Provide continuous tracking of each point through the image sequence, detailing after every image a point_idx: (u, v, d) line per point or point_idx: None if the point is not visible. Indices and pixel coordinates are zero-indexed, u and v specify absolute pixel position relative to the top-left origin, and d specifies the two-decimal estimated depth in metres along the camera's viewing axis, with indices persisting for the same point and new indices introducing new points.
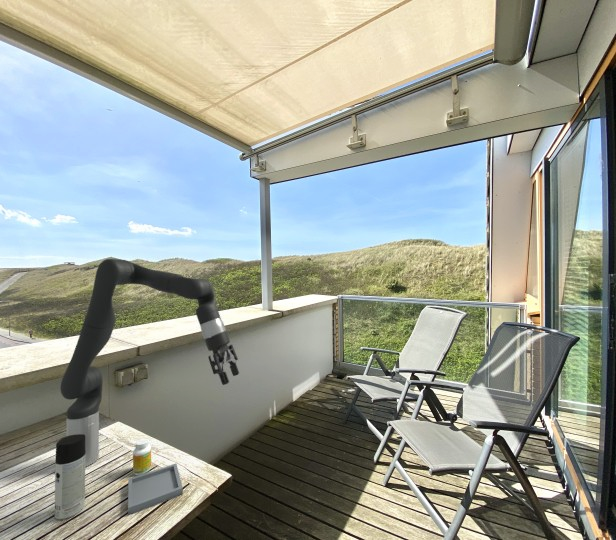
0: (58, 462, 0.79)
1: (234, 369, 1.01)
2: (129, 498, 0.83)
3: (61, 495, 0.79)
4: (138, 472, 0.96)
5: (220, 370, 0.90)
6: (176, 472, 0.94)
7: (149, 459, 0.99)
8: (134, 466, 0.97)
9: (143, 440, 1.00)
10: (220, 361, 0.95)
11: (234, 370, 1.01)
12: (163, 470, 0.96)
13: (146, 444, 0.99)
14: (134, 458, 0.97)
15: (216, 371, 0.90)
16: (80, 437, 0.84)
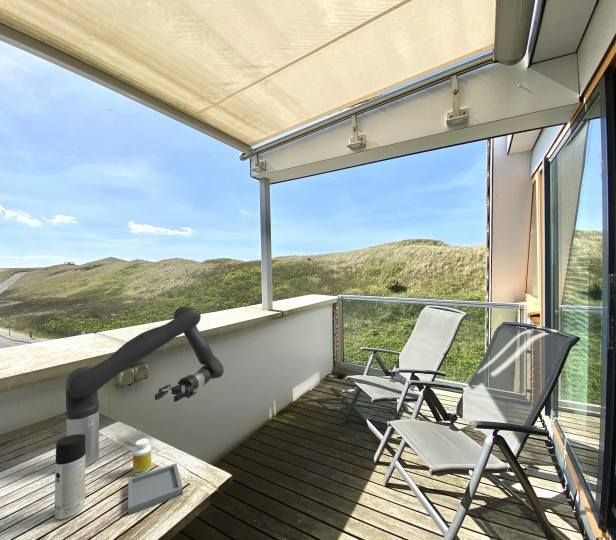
0: (58, 462, 0.79)
1: (160, 396, 1.13)
2: (129, 498, 0.83)
3: (61, 495, 0.79)
4: (138, 472, 0.96)
5: (188, 397, 1.14)
6: (176, 472, 0.94)
7: (149, 459, 0.99)
8: (134, 466, 0.97)
9: (143, 440, 1.00)
10: None
11: (159, 395, 1.13)
12: (163, 470, 0.96)
13: (146, 444, 0.99)
14: (134, 458, 0.97)
15: (189, 394, 1.14)
16: (80, 437, 0.84)
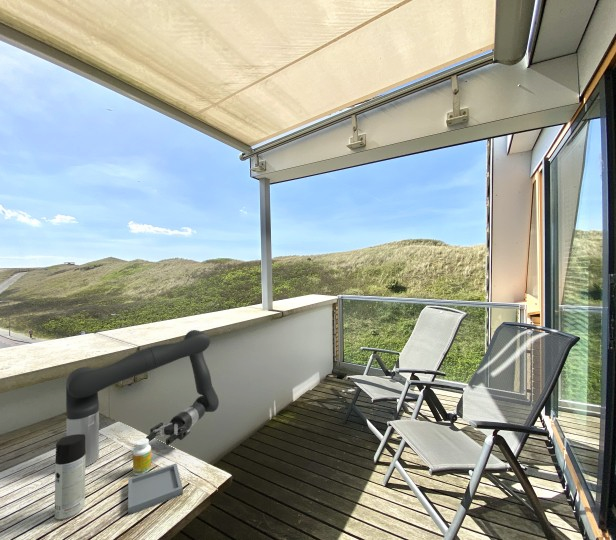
0: (58, 462, 0.79)
1: (151, 437, 1.09)
2: (129, 498, 0.83)
3: (61, 495, 0.79)
4: (138, 472, 0.96)
5: (181, 439, 1.09)
6: (176, 472, 0.94)
7: (149, 459, 0.99)
8: (134, 466, 0.97)
9: (143, 440, 1.00)
10: None
11: (151, 437, 1.09)
12: (163, 470, 0.96)
13: (146, 444, 0.99)
14: (134, 458, 0.97)
15: (182, 435, 1.09)
16: (80, 437, 0.84)
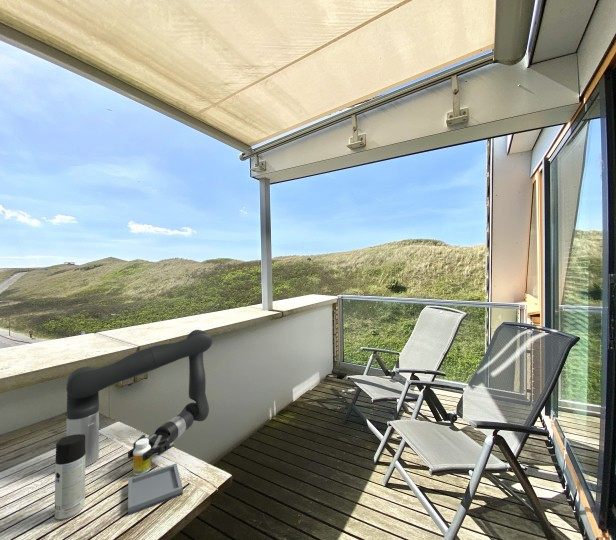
0: (58, 462, 0.79)
1: None
2: (129, 498, 0.83)
3: (61, 495, 0.79)
4: (138, 472, 0.96)
5: (160, 453, 1.00)
6: (176, 472, 0.94)
7: (149, 459, 0.99)
8: (134, 466, 0.97)
9: (143, 440, 1.00)
10: None
11: None
12: (163, 470, 0.96)
13: (146, 444, 0.99)
14: (133, 457, 0.97)
15: (161, 449, 1.00)
16: (81, 437, 0.84)
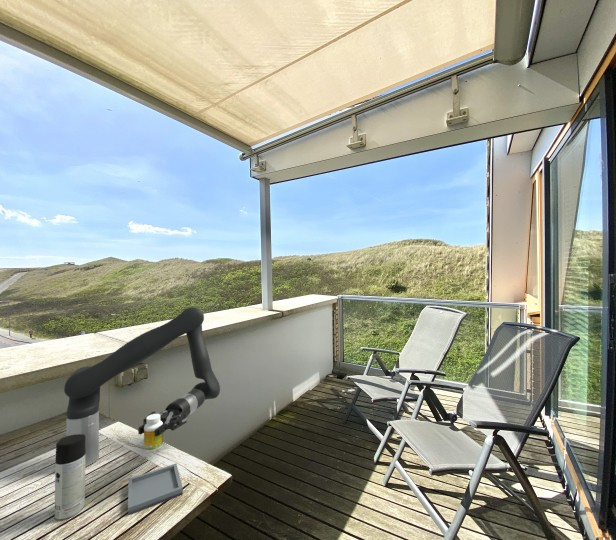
0: (58, 462, 0.79)
1: None
2: (129, 498, 0.83)
3: (61, 495, 0.79)
4: (150, 449, 0.90)
5: (173, 429, 0.93)
6: (176, 472, 0.94)
7: (161, 435, 0.92)
8: (145, 442, 0.90)
9: (154, 415, 0.93)
10: None
11: None
12: (163, 470, 0.96)
13: (158, 419, 0.92)
14: (145, 433, 0.90)
15: (174, 425, 0.94)
16: (81, 437, 0.84)
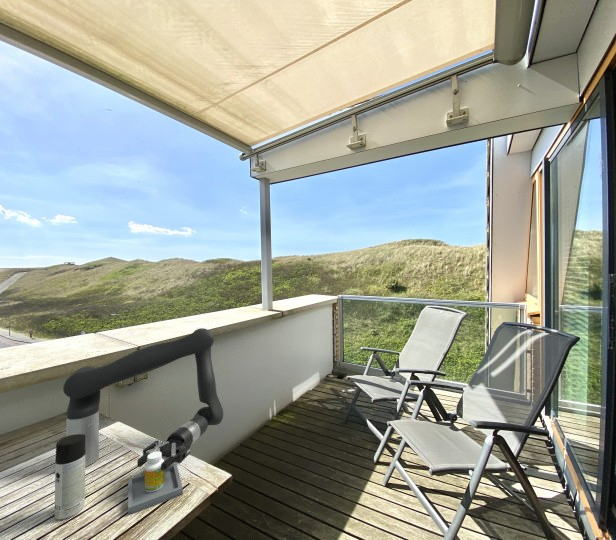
0: (58, 462, 0.79)
1: (144, 460, 0.91)
2: (129, 498, 0.83)
3: (61, 495, 0.79)
4: (150, 489, 0.87)
5: None
6: (176, 472, 0.94)
7: (162, 474, 0.90)
8: (146, 483, 0.88)
9: (155, 453, 0.91)
10: None
11: (144, 460, 0.91)
12: None
13: (159, 458, 0.89)
14: (145, 473, 0.88)
15: (181, 458, 0.91)
16: (80, 437, 0.84)
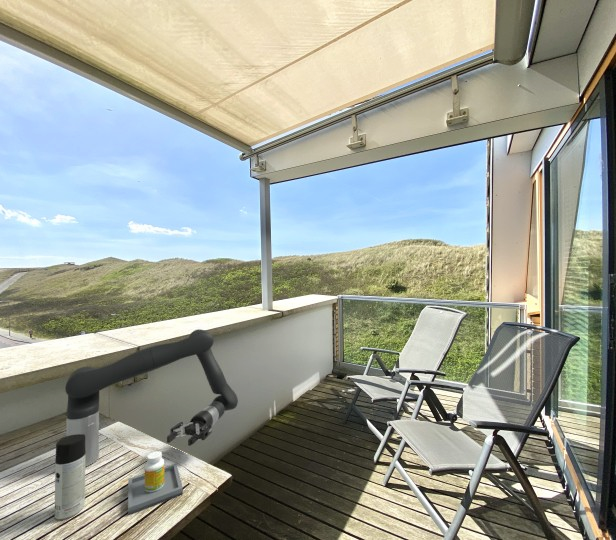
0: (58, 462, 0.79)
1: (172, 437, 1.04)
2: (129, 498, 0.83)
3: (61, 495, 0.79)
4: (150, 489, 0.87)
5: (203, 439, 1.04)
6: (176, 472, 0.94)
7: (162, 474, 0.90)
8: (146, 483, 0.88)
9: (155, 453, 0.91)
10: None
11: (172, 437, 1.03)
12: None
13: (159, 458, 0.89)
14: (145, 473, 0.88)
15: (204, 435, 1.04)
16: (80, 437, 0.84)
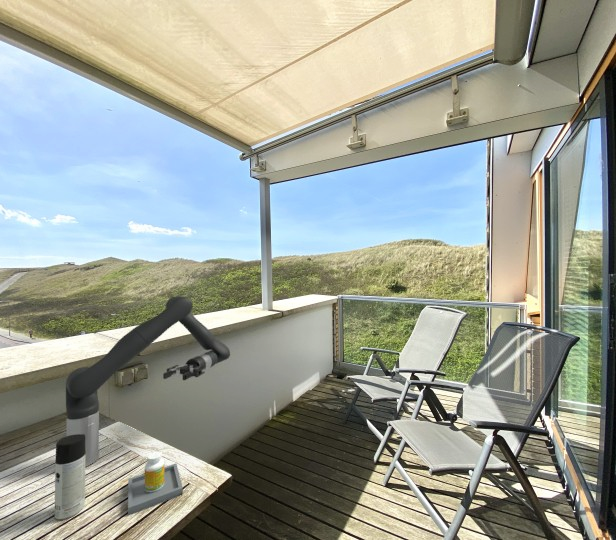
0: (58, 462, 0.79)
1: (168, 375, 1.13)
2: (129, 498, 0.83)
3: (61, 495, 0.79)
4: (150, 489, 0.87)
5: (197, 376, 1.13)
6: (176, 472, 0.94)
7: (162, 474, 0.90)
8: (146, 483, 0.87)
9: (155, 453, 0.91)
10: None
11: (168, 374, 1.13)
12: None
13: (159, 458, 0.89)
14: (145, 473, 0.88)
15: (197, 373, 1.14)
16: (80, 437, 0.84)
